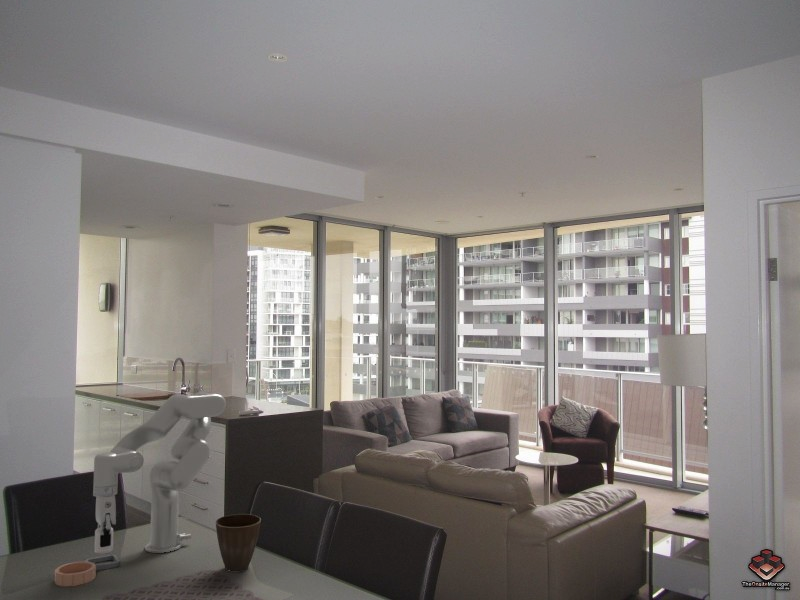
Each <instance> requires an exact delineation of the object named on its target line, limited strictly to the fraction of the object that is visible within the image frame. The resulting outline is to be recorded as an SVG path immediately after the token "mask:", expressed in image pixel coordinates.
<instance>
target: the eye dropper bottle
mask: <svg viewBox="0 0 800 600" xmlns="http://www.w3.org/2000/svg"><path fill="white" fill-rule="evenodd" d="M103 525H106V523H104V524H103ZM104 528H105V527H104ZM100 535H101V526H100V527H99V528H98V527H97V528H96V529H95V530H94V546H93V547H94V551H93V552H94V553H95V554H109V553H111V552H112V551H113V549H114V528H113V527H112V526H111V545H110V546H106V547H100Z"/></svg>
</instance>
